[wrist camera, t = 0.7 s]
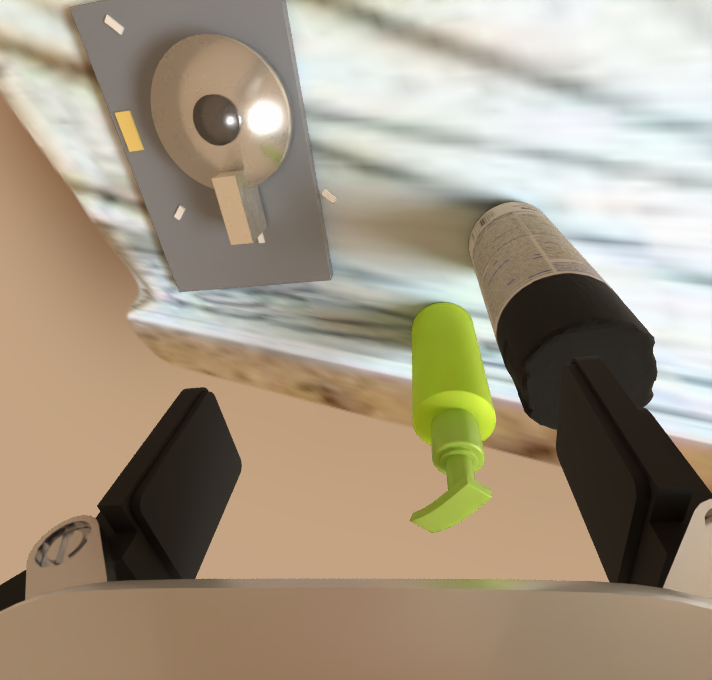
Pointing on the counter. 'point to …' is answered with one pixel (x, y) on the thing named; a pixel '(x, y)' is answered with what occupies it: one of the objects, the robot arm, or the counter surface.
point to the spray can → (553, 310)
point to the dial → (224, 123)
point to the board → (168, 181)
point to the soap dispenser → (450, 410)
